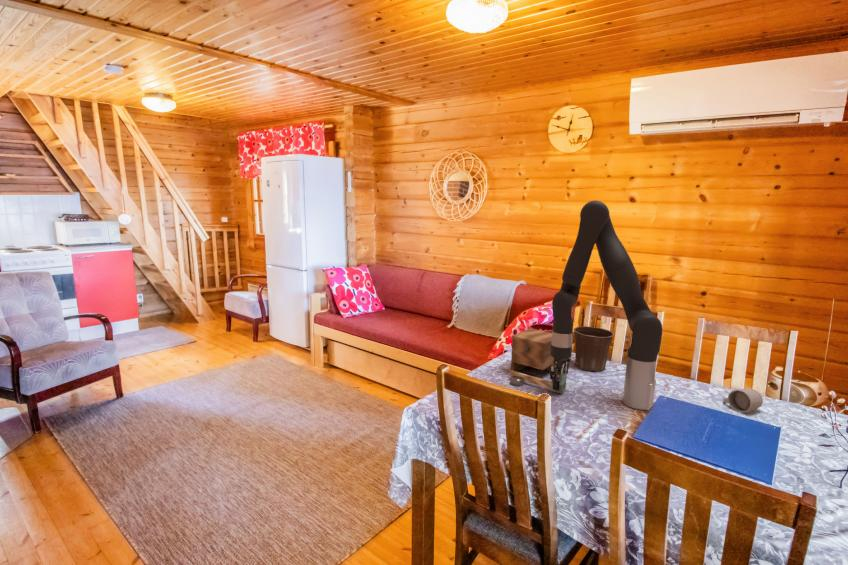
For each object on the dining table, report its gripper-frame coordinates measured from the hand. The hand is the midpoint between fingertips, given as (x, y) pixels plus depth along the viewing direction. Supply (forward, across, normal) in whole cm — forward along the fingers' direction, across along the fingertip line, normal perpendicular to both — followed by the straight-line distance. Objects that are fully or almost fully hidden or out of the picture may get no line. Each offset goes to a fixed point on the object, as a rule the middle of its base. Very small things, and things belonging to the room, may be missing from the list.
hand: (558, 387), depth 166 cm
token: (+2, -3, +16) cm, 16 cm away
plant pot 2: (+2, +42, +27) cm, 50 cm away
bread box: (+2, +13, +16) cm, 21 cm away
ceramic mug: (+2, +32, -53) cm, 62 cm away
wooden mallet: (+1, 0, +9) cm, 9 cm away
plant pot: (+2, +36, +1) cm, 36 cm away
